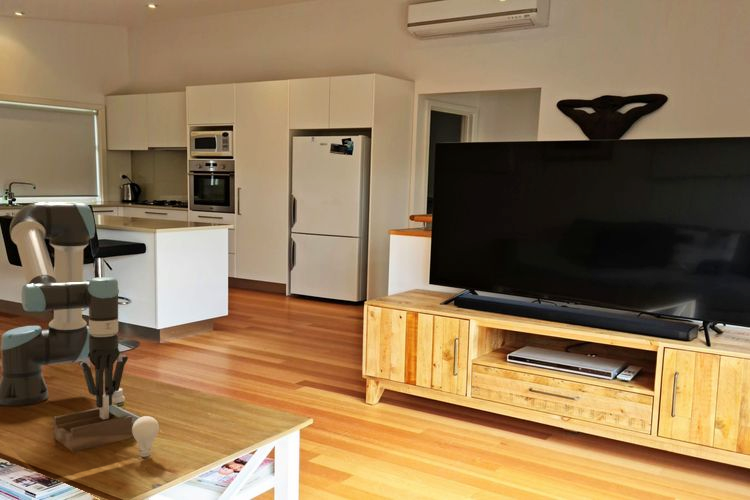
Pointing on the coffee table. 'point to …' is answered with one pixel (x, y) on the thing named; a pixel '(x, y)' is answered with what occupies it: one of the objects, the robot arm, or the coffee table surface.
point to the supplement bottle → (118, 399)
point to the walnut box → (90, 429)
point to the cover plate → (122, 412)
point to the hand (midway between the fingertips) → (104, 417)
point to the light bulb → (145, 434)
